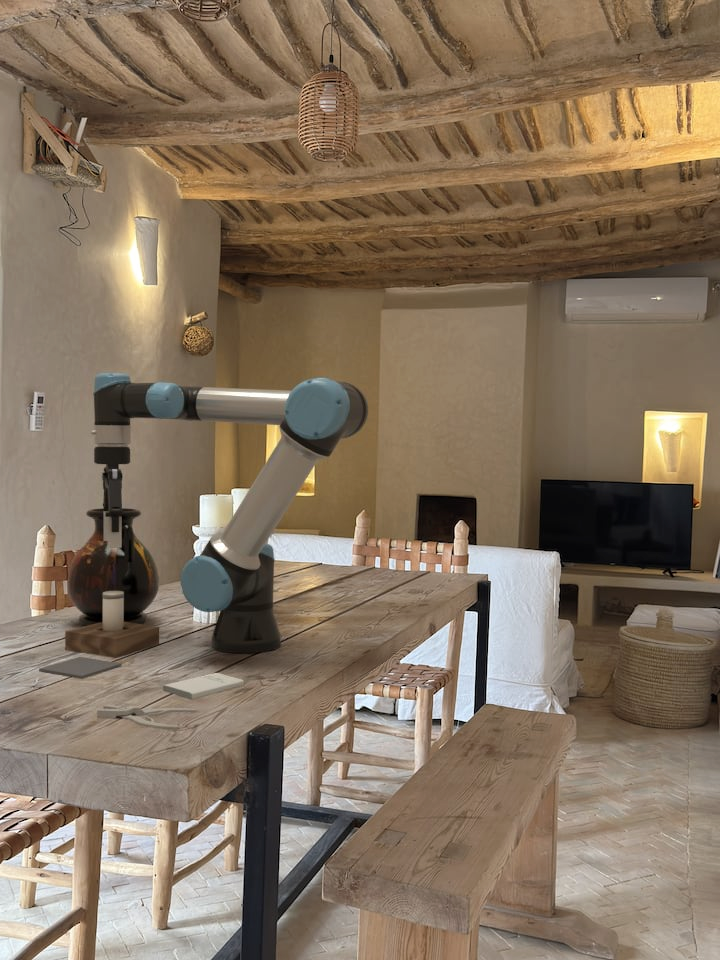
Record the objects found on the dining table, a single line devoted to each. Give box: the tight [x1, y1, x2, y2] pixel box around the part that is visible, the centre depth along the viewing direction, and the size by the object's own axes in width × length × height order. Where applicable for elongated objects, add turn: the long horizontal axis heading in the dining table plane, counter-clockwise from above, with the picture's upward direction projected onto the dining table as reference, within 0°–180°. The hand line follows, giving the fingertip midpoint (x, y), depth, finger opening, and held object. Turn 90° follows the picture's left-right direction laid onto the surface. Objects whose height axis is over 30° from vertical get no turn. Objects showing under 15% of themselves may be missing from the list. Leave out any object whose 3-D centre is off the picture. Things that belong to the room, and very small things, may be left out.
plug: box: [103, 591, 124, 632], centre depth 197 cm, size 4×4×12 cm
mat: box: [38, 656, 123, 679], centre depth 179 cm, size 11×11×1 cm
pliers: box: [96, 704, 198, 730], centre depth 149 cm, size 10×2×15 cm
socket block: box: [64, 622, 160, 658], centre depth 197 cm, size 14×14×4 cm
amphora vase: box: [66, 507, 160, 627], centre depth 220 cm, size 22×22×28 cm
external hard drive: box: [162, 672, 245, 700], centre depth 167 cm, size 2×8×12 cm
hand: (112, 544), depth 196 cm, fingers open, 13 cm apart
